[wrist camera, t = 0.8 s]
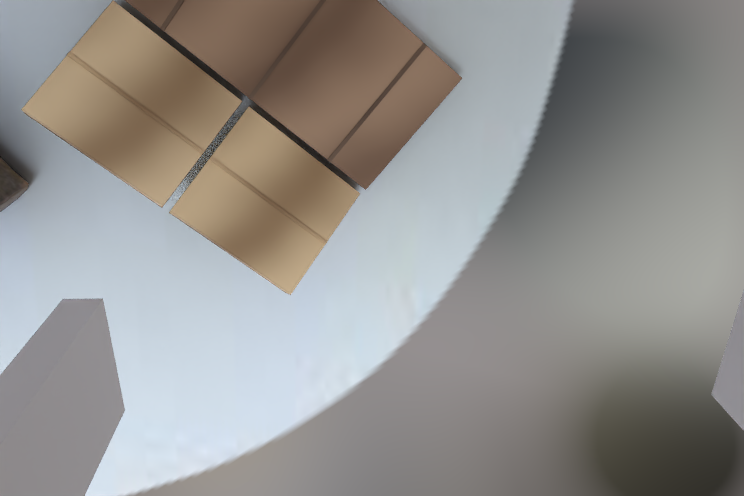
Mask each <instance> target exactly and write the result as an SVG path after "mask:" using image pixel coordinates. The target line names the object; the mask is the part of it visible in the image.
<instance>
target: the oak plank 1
mask: <svg viewBox="0 0 744 496" xmlns="http://www.w3.org/2000/svg"><path fill="white" fill-rule="evenodd" d="M241 102H242V101H241V100H240V99H239V98H237V97H236V96H235V95H234V94H232V93H231V92H230V91H228V90H227V89H226V88H225V87H223V86H222V85H221V84H220V83H218V82H217V81H216V80H214V79H213V78H212V77H211V76H209V75H208V74H207V73H205V72H204V71H203V70H202V69H200V68H199V67H198V66H196V65H195V64H194V63H193V62H191V61H190V60H189V59H188V58H186V57H185V56H184V55H182V54H181V53H180V52H179V51H177V50H176V49H175V48H173V47H172V46H171V45H170V44H168V43H167V42H166V41H164V40H163V39H162V38H161V37H159V36H158V35H157V34H156V33H154V32H153V31H152V30H150V29H149V28H148V27H147V26H145V25H144V24H143V23H141V22H140V21H139V20H138V19H136V18H135V17H134V16H132V15H131V14H130V13H129V12H127V11H126V10H125V9H124V8H122V7H121V6H120V5H118V4H117V3H116V2H115V1H112V2H111V3H110V5H109V6H108V7H107V8H106V9H105V11H104V12H103V13H102V14H101V15H100V16H99V18H98V19H97V20H96V21H95V22H94V24H93V25H92V26H91V27H90V28H89V30H88V31H87V32H86V33H85V34H84V36H83V37H82V38H81V39H80V40H79V41H78V43H77V44H76V45H75V46H74V47H73V49H72V50H71V51H70V52H69V53H68V54H67V56H66V57H65V58H64V59H63V61H62V62H61V63H60V64H59V65H58V66H57V68H56V69H55V70H54V71H53V72H52V74H51V75H50V76H49V77H48V78H47V80H46V81H45V82H44V83H43V84H42V86H41V87H40V88H39V89H38V90H37V91H36V93H35V94H34V95H33V96H32V97H31V99H30V100H29V101H28V102H27V103H26V105H25V106H24V107H23V108H22V109H21V110H22V111H23V112H24V113H25V114H26V115H28V116H29V117H30V118H32V119H33V120H35V121H36V122H38V123H39V124H41V125H42V126H44V127H45V128H46V129H48V130H49V131H51V132H52V133H54V134H55V135H57V136H58V137H60V138H61V139H63V140H64V141H65V142H67V143H68V144H70V145H71V146H73V147H74V148H76V149H77V150H79V151H80V152H81V153H83V154H84V155H86V156H87V157H89V158H90V159H92V160H93V161H95V162H96V163H97V164H99V165H100V166H102V167H103V168H105V169H106V170H108V171H109V172H111V173H112V174H113V175H115V176H116V177H118V178H119V179H121V180H122V181H124V182H125V183H127V184H128V185H130V186H131V187H132V188H134V189H135V190H137V191H138V192H140V193H141V194H143V195H144V196H146V197H147V198H148V199H150V200H151V201H153V202H154V203H156V204H157V205H159V206H160V207H163V206H164V204H165V203H166V202H167V200H168V199H169V198H170V196H171V195H172V194H173V193H174V191H175V190H176V189H177V187H178V186H179V185H180V183H181V182H182V181H183V179H184V178H185V177H186V175H187V174H188V173H189V171H190V170H191V169H192V167H193V166H194V165H195V163H196V162H197V161H198V159H199V158H200V157H201V156H202V154H203V153H204V152H205V150H206V149H207V148H208V146H209V145H210V144H211V142H212V141H213V140H214V138H215V137H216V136H217V134H218V133H219V132H220V130H221V129H222V128H223V126H224V125H225V124H226V122H227V121H228V120H229V118H230V117H231V116H232V115H233V113H234V112H235V111H236V109H237V108H238V107H239V105H240V104H241Z"/></svg>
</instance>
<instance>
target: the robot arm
mask: <svg viewBox="0 0 744 496" xmlns="http://www.w3.org/2000/svg"><path fill="white" fill-rule="evenodd" d="M712 395H713V397H714V398H715V399H716V400H717V401H718V402H719V403H720V404H721V406H722V407H723V408H724V409H725V410H726V411H727V412H728V413H729V415H730V416H732V418H733V419H734V420H735V421H736V422H737V423H738V425H739V426H740V427H741V428H742V429H743V430H744V291H743V295H742V297H741V301H740V304H739V307H738V310H737V314H736V317H735V320H734V323H733V327H732V330H731V333H730V336H729V339H728V343H727V346H726V349H725V352H724V356H723V359H722V362H721V366H720V369H719V372H718V375H717V379H716V381H715V385H714V388H713V391H712ZM124 411H125V409H124V404H123V398H122V393H121V388H120V383H119V378H118V373H117V368H116V363H115V358H114V353H113V348H112V343H111V337H110V332H109V327H108V322H107V317H106V312H105V307H104V302H103V299H63V300H62V301H61V302H60V303H59V304H58V306H57V307H56V308H55V309H54V311H53V312H52V313H51V314H50V315H49V317H48V318H47V319H46V320H45V322H44V323H43V324H42V325H41V326H40V328H39V329H38V330H37V331H36V332H35V334H34V335H33V336H32V337H31V339H30V340H29V341H28V342H27V343H26V345H25V346H24V347H23V348H22V350H21V351H20V352H19V353H18V354H17V356H16V357H15V358H14V359H13V360H12V362H11V363H10V364H9V365H8V367H7V368H6V369H5V370H4V371H3V373H2V374H1V375H0V496H85V493H86V491H87V489H88V487H89V485H90V483H91V481H92V479H93V476H94V474H95V472H96V470H97V468H98V466H99V464H100V462H101V460H102V457H103V455H104V453H105V451H106V449H107V447H108V445H109V443H110V441H111V438H112V436H113V434H114V432H115V430H116V428H117V426H118V424H119V421H120V419H121V417H122V415H123V413H124Z"/></svg>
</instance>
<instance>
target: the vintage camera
mask: <svg viewBox="0 0 744 496" xmlns="http://www.w3.org/2000/svg"><path fill="white" fill-rule="evenodd" d="M28 184H29V183H28V182H26V181H25V180H24V179H23V178H22V177H21V176H20V175H18V174H17V173H16V172H15V171H14V170H13V169H12V168H10V167H9V166H8V165H7V163H6V162H5V161H4V160H3V159H2V158H1V157H0V212H1V211H2V210H4V209H5V208H6V207H8V206H9V205H10V204H11V203H13V202H14V201H15V200H17V199H18V198H19V197H20V196H21V195H22V194H23V193H24V192H25V191H26V190H27V188H28Z"/></svg>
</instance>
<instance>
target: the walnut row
mask: <svg viewBox="0 0 744 496" xmlns="http://www.w3.org/2000/svg"><path fill="white" fill-rule="evenodd" d="M125 1H126V2H127V3H129V4H130V5H131V6H133V7H134V8H135V9H136V10H138V11H139V12H140V13H141V14H143V15H144V16H145V17H147V18H148V19H149V20H150V21H152V22H153V23H154V24H155V25H157V26H158V27H159V28H160V29H161V30H162V31H164V32H166V33H167V34H168V35H169V36H171V37H172V38H173V39H175V40H176V41H177V42H178V43H180V44H181V45H182V46H183V47H185V48H186V49H187V50H188V51H190V52H191V53H192V54H194V55H195V56H196V57H197V58H199V59H200V60H201V61H202V62H204V63H205V64H206V65H208V66H209V67H210V68H211V69H213V70H214V71H215V72H216V73H218V74H219V75H220V76H222V77H223V78H224V79H225V80H227V81H228V82H229V83H230V84H232V85H233V86H234V87H236V88H237V89H238V90H239V91H241V92H242V93H243V94H244V95H246V96H247V97H248V98H249V99H250V100H252V101H253V102H255V103H256V104H257V105H258V106H260V107H261V108H262V109H264V110H265V111H266V112H267V113H269V114H270V115H271V116H272V117H274V118H275V119H276V120H277V121H279V122H280V123H281V124H283V125H284V126H285V127H286V128H288V129H289V130H290V131H291V132H293V133H294V134H295V135H297V136H298V137H299V138H300V139H302V140H303V141H304V142H305V143H307V144H308V145H309V146H311V147H312V148H313V149H314V150H316V151H317V152H318V153H319V154H321V155H322V156H323V157H325V158H326V159H327V160H328V161H329V162H331V163H332V164H333V165H335V166H336V167H337V168H339V169H340V170H341V171H342V172H344V173H345V174H346V175H347V176H349V177H350V178H351V179H353V180H354V181H355V182H356V183H358V184H359V185H360V186H361V187H363V188H364V189H365V190H366V189H367V188H368V187H369V185H370V184H371V183H372V182H373V181H374V180H375V178H376V177H377V176H378V175H379V174H380V173H381V172H382V170H383V169H384V168H385V167H386V166H387V165H388V163H389V162H390V161H391V160H392V159H393V158H394V157H395V155H396V154H397V153H398V152H399V151H400V150H401V148H402V147H403V146H404V145H405V144H406V143H407V142H408V140H409V139H410V138H411V137H412V136H413V135H414V133H415V132H416V131H417V130H418V129H419V128H420V127H421V125H422V124H423V123H424V122H425V121H426V120H427V118H428V117H429V116H430V115H431V114H432V113H433V111H434V110H435V109H436V108H437V107H438V106H439V105H440V103H441V102H442V101H443V100H444V99H445V98H446V96H447V95H448V94H449V93H450V92H451V91H452V90H453V88H454V87H455V86H456V85H457V84H458V83H459V81H460V80H461V79H462V77H460V76H459V75H458V74H457V73H456V72H455V71H454V70H453V69H452V68H451V67H449V66H448V65H447V64H446V63H445V62H444V61H443V60H442V59H441V58H440V57H438V56H437V55H436V54H435V53H434V52H433V51H432V50H431V49H430V48H429V47H428V46H426V45H425V44H424V43H423V42H422V41H421V40H420V39H419V38H418V37H417V36H415V35H414V34H413V33H412V32H411V31H410V30H409V29H408V28H407V27H406V26H405V25H403V24H402V23H401V22H400V21H399V20H398V19H397V18H396V17H395V16H394V15H392V14H391V13H390V12H389V11H388V10H387V9H386V8H385V7H384V6H383V5H382V4H380V3H379V2H378V1H377V0H125Z"/></svg>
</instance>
